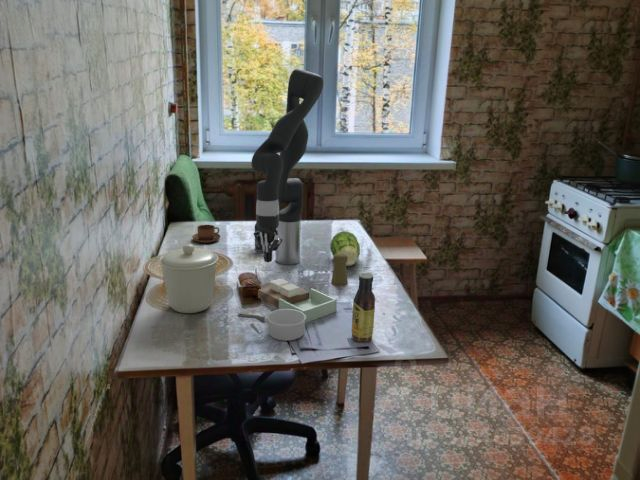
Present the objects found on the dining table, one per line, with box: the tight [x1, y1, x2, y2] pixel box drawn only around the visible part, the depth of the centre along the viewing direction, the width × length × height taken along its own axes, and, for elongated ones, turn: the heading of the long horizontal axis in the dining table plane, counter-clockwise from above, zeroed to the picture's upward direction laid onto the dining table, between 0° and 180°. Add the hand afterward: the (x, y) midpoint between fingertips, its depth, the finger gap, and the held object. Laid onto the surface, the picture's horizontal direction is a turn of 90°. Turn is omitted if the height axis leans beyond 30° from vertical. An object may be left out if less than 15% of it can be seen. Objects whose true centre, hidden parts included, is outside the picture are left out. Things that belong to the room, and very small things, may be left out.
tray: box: [278, 288, 338, 324], centre depth 183 cm, size 12×14×4 cm
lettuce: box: [329, 231, 361, 267], centre depth 225 cm, size 12×21×11 cm, turn 5°
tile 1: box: [270, 278, 290, 292], centre depth 192 cm, size 4×4×2 cm
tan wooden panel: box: [258, 282, 310, 310], centre depth 192 cm, size 15×12×3 cm
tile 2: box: [280, 282, 301, 297], centre depth 188 cm, size 4×4×2 cm
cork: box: [330, 253, 349, 287], centre depth 205 cm, size 6×6×11 cm
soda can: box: [254, 223, 264, 252], centre depth 239 cm, size 7×7×12 cm
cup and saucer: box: [191, 224, 221, 244], centre depth 249 cm, size 12×12×6 cm
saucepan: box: [237, 309, 306, 342], centre depth 167 cm, size 12×20×6 cm, turn 86°
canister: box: [158, 243, 219, 314], centre depth 181 cm, size 18×18×21 cm
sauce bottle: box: [351, 272, 376, 343], centre depth 163 cm, size 6×6×20 cm
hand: (268, 261), depth 195 cm, fingers closed
